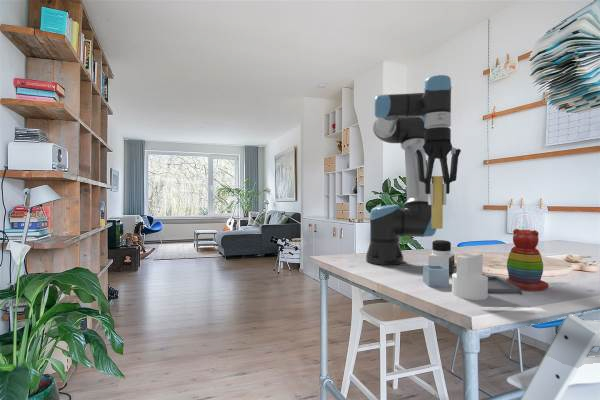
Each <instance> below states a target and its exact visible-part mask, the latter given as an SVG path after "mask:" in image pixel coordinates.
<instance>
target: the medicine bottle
mask: <svg viewBox="0 0 600 400" xmlns="http://www.w3.org/2000/svg"><path fill="white" fill-rule="evenodd" d="M431 243H432V245H431V246H432V247H431V248H432V249H431V250H432V251H431V253H430V254H428V255H427V256H428V258H427V259H428V262H427V263H428V264H427V265H443V266H444V267H446V268H447V269H449V276H452V274H454V273H455V254H454V253H452V252H451V251H452V243H451V241H449V240H445V239H435V240H433V241H432V242H431Z"/></svg>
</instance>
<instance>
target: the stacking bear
mask: <svg viewBox="0 0 600 400" xmlns="http://www.w3.org/2000/svg"><path fill="white" fill-rule="evenodd" d="M512 232H513V235H512V243H513V245H514V246H513V247H512V248H511V249H510V251H509V254H508V258H507V260H506V269H507V274H508V278H507V279H506V281H507V282H509V283H511V284H513V285H515V286H517V287H519V288H521V289H522V291H527V292H539V291H541V292H542V291H546V290H548V289H549V283H548V282H546V281H544V280H541V279H542V277H543V274H544V261H543V258H542V254H541V252H540V250H539V249H538V248H537V247H538V244H539V234H540V233H539V232H538V230H530V229H518V228H515V229H513V231H512Z"/></svg>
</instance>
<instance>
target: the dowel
mask: <svg viewBox="0 0 600 400" xmlns="http://www.w3.org/2000/svg"><path fill="white" fill-rule="evenodd" d="M431 184H433V205H432V217H431V228H435V229H436V230H437V229H439V230H440V229H443V227H444V226H443V221H444V220H443V219H444V218H443V216H444V215H443V213H444V212H443V211H444V210H443V208H444V205H443V184H444V181H443V175H439V176H438V175H437V176H436V175H434V176H433V175H432V177H431Z"/></svg>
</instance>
